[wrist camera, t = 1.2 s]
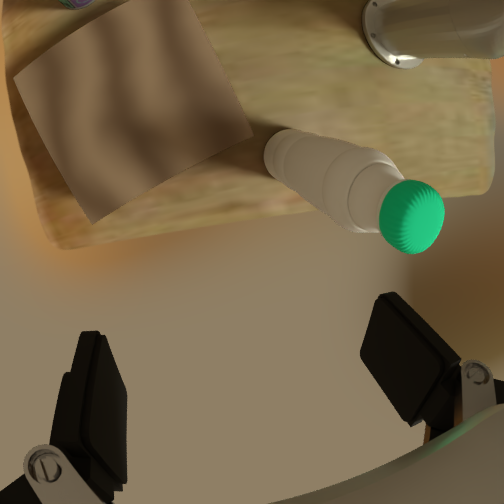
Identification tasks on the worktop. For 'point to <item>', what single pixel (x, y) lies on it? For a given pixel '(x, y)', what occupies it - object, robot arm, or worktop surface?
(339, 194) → the water bottle
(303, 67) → the worktop surface
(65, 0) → the spray can
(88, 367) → the robot arm
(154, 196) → the worktop surface
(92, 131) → the brown wooden block
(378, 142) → the worktop surface
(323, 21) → the worktop surface
